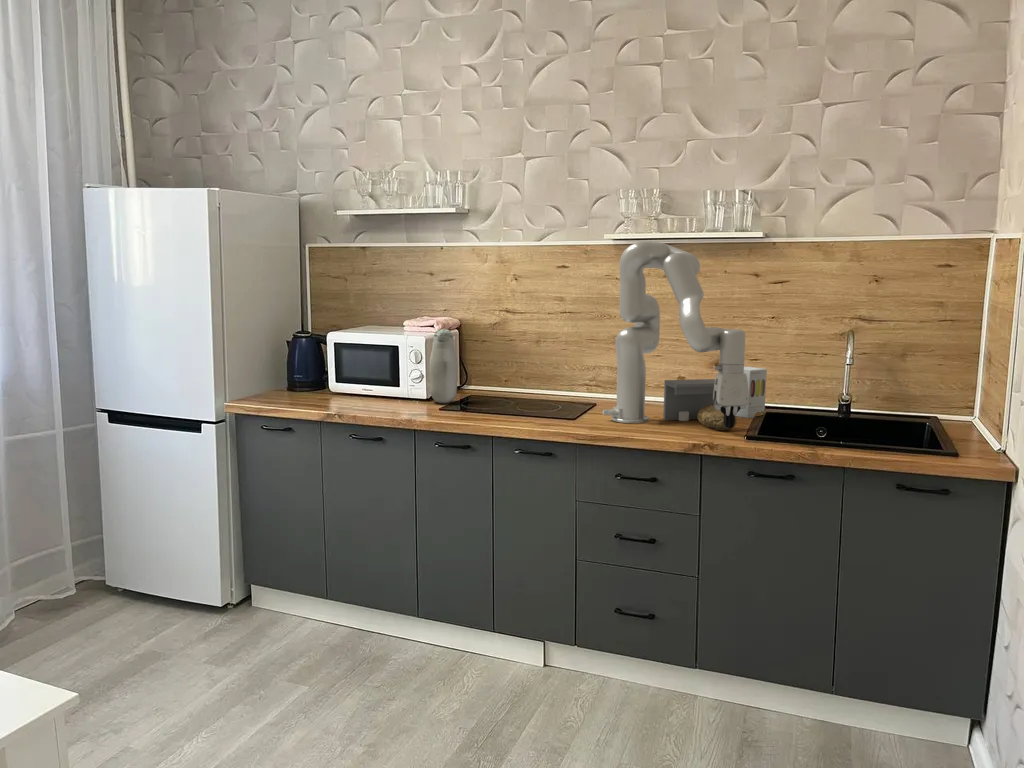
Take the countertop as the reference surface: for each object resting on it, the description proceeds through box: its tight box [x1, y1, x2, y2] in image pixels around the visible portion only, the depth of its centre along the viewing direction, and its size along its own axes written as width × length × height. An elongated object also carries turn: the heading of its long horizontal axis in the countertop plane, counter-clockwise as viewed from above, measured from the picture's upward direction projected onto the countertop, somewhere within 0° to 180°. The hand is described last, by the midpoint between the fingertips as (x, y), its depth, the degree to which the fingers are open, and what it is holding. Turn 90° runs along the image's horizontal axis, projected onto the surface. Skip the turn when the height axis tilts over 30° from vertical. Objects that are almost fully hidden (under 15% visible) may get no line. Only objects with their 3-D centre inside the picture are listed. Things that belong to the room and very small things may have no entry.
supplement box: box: [729, 366, 768, 419], centre depth 294 cm, size 10×9×17 cm
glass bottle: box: [429, 328, 458, 404], centre depth 315 cm, size 10×10×28 cm
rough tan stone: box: [697, 404, 738, 431], centre depth 273 cm, size 13×8×20 cm
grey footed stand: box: [662, 378, 720, 422], centre depth 283 cm, size 20×10×14 cm, turn 103°
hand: (728, 427), depth 261 cm, fingers closed
